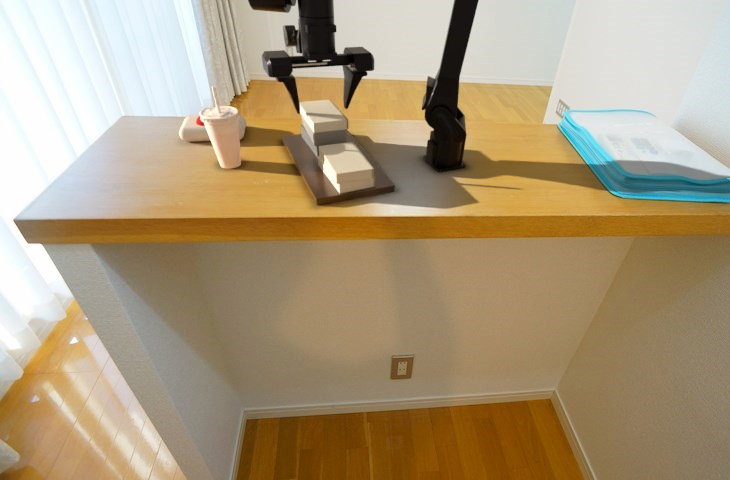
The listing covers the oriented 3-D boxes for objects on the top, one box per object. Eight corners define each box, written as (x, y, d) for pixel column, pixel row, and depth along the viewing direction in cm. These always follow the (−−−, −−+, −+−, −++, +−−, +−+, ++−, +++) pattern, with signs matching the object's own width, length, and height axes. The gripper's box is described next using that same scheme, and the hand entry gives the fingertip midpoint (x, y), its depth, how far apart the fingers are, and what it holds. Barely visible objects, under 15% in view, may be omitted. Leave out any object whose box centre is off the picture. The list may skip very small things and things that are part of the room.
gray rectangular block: (329, 133, 87) (329, 121, 86) (348, 155, 80) (348, 142, 78) (301, 136, 85) (300, 124, 83) (318, 159, 78) (317, 146, 76)
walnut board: (346, 133, 90) (346, 128, 90) (394, 191, 73) (394, 185, 72) (282, 141, 86) (281, 136, 85) (316, 205, 68) (316, 199, 67)
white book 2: (353, 150, 77) (353, 141, 76) (373, 178, 70) (374, 168, 69) (319, 155, 75) (318, 145, 74) (336, 184, 68) (336, 174, 66)
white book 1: (330, 108, 84) (330, 99, 83) (348, 129, 77) (348, 119, 75) (299, 111, 82) (298, 102, 81) (314, 133, 74) (313, 123, 73)
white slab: (244, 103, 89) (240, 121, 81) (248, 123, 92) (244, 142, 84) (183, 104, 87) (173, 122, 79) (189, 124, 89) (180, 144, 82)
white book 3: (350, 159, 79) (350, 150, 77) (375, 186, 71) (375, 177, 70) (318, 165, 76) (317, 156, 75) (339, 193, 69) (339, 184, 68)
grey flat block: (331, 121, 86) (330, 108, 84) (346, 142, 78) (346, 129, 76) (302, 123, 84) (300, 111, 82) (315, 146, 76) (314, 132, 74)
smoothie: (213, 174, 74) (192, 93, 65) (211, 158, 78) (191, 80, 69) (250, 169, 76) (235, 90, 67) (246, 154, 80) (232, 78, 71)
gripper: (353, 5, 77) (354, 92, 87) (249, 6, 70) (263, 100, 80) (376, 17, 69) (374, 111, 79) (261, 20, 62) (275, 121, 73)
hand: (322, 110), depth 78 cm, fingers open, 9 cm apart
